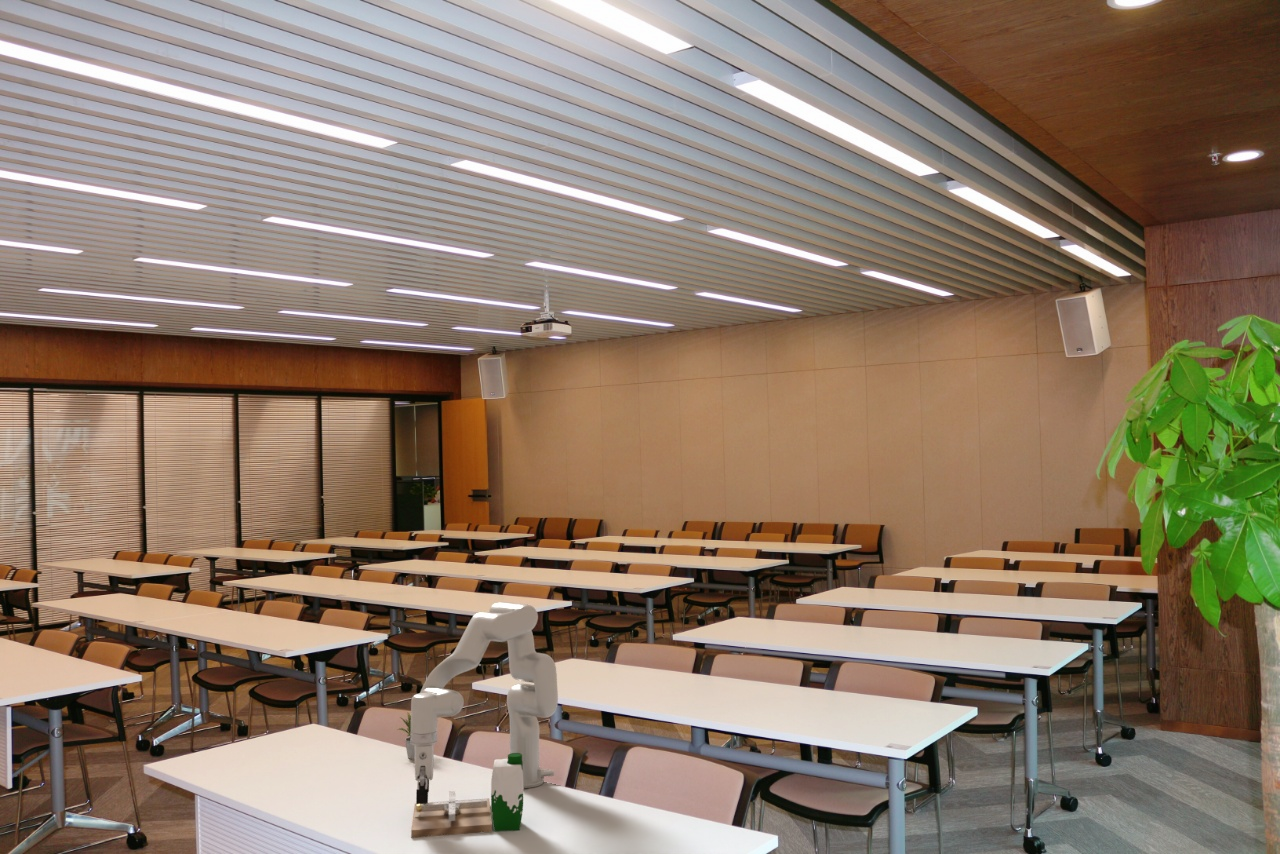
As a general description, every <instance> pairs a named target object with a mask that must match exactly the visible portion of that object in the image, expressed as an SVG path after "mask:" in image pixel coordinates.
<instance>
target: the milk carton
mask: <svg viewBox="0 0 1280 854" xmlns="http://www.w3.org/2000/svg"><path fill="white" fill-rule="evenodd" d="M522 766H523V762H522V754H520V753H511V754H510V753H509V754H507V757H506V758H502V759H501V758H500V759H497V758H496V759H494V762H493V767H492V773H491V781H490V782H491V783H490V785H491V786H490V790H491V791H490V795H491V796H490V798H491V799H490V800H491V801H490V811H491V820H492V827H493V831H494V832H511V831H512V832H513V831H516V832H517V831H520V830H521V826H522V824H521V823H522V816H523V811H524V788H523V768H522Z"/></svg>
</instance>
